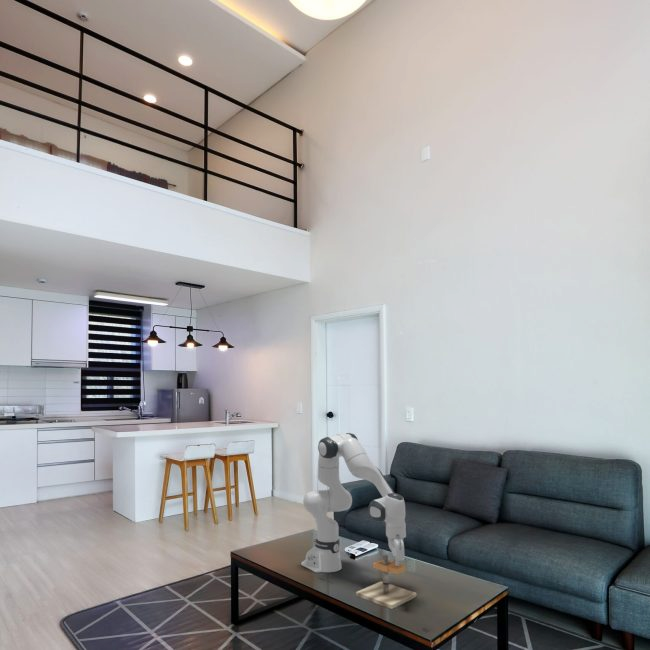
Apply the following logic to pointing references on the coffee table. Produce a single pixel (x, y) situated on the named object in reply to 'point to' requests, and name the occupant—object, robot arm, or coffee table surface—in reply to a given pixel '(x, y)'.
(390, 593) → the pipe stand
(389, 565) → the collar
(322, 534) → the robot arm
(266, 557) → the coffee table surface
